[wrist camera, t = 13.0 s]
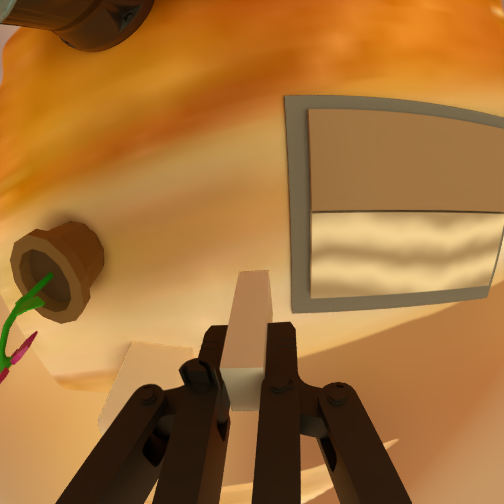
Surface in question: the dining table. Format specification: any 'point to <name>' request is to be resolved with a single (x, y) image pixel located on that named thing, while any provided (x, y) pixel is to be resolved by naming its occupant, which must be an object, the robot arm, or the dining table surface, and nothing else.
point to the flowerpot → (52, 278)
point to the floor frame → (386, 175)
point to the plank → (401, 251)
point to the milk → (143, 375)
